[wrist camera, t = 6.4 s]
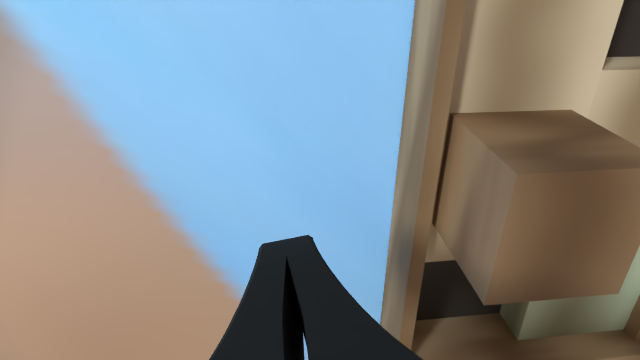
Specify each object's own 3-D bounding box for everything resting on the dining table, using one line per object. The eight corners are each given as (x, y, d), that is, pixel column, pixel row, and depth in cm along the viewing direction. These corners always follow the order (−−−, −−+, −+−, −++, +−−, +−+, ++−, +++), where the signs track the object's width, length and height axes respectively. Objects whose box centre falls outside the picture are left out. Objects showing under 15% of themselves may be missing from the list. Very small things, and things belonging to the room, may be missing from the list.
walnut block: (570, 109, 16) (674, 166, 12) (539, 216, 18) (618, 293, 14) (450, 113, 16) (517, 174, 12) (432, 223, 18) (484, 305, 14)
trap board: (789, -135, 15) (925, -151, 12) (602, 310, 25) (651, 364, 22) (431, -150, 14) (484, -173, 11) (379, 332, 23) (399, 393, 20)
